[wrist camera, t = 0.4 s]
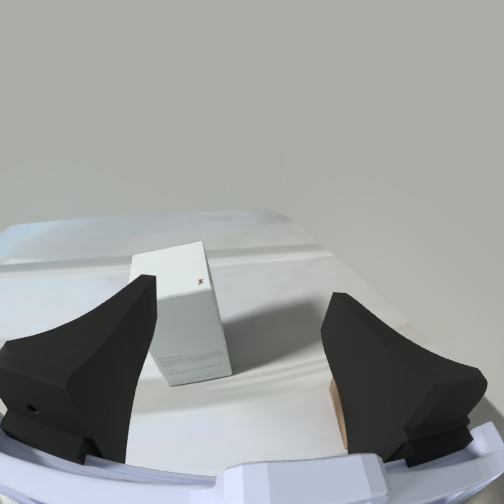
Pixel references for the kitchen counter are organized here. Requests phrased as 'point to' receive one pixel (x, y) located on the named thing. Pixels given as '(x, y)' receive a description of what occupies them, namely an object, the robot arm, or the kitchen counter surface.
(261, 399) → the kitchen counter surface
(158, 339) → the supplement box
